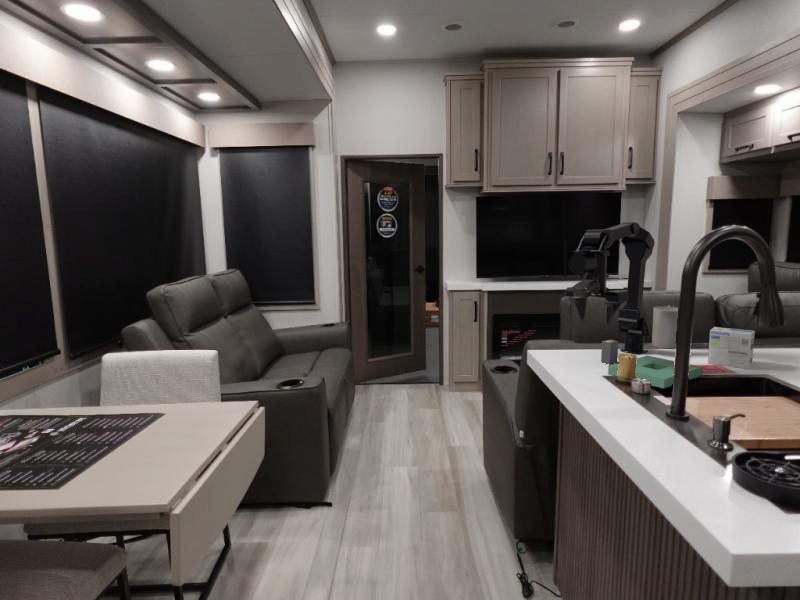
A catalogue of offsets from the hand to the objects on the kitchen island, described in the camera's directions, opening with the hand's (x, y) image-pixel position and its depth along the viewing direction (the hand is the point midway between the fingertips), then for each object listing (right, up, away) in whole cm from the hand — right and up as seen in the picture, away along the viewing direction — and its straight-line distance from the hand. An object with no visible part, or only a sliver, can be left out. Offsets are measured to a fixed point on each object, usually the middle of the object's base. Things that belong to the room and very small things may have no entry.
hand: (594, 321), depth 147 cm
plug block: (+5, -13, +2) cm, 14 cm away
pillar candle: (+35, -10, +24) cm, 44 cm away
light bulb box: (+41, -13, -1) cm, 43 cm away
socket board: (+13, -15, -11) cm, 22 cm away
